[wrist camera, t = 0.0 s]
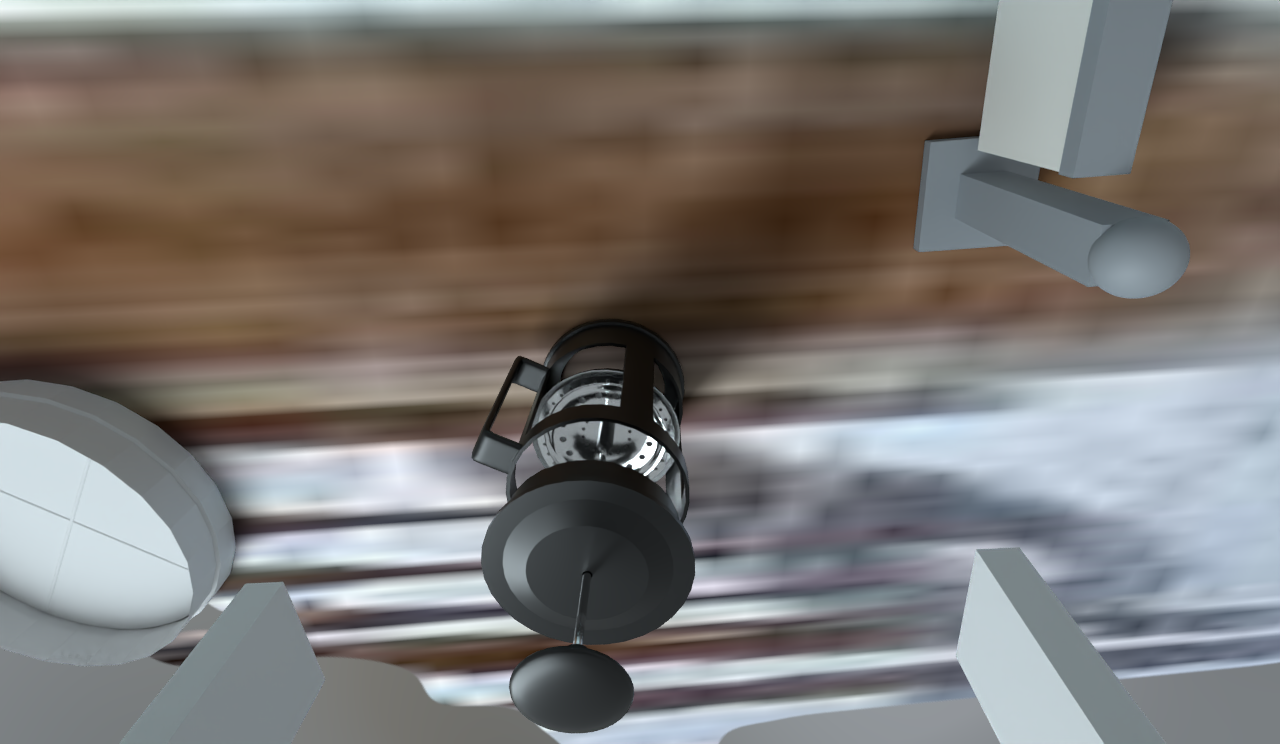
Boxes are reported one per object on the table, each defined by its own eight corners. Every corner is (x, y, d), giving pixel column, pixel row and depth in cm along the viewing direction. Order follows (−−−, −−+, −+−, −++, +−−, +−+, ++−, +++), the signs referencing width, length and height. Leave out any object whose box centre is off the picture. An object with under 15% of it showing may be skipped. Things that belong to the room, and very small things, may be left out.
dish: (-55, 317, 41) (-143, 348, 36) (276, 472, 46) (235, 517, 41) (-88, 542, 49) (-162, 590, 45) (195, 653, 54) (153, 706, 50)
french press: (719, 359, 41) (784, 665, 20) (654, 468, 44) (653, 821, 24) (549, 282, 39) (426, 534, 18) (497, 404, 42) (346, 727, 22)
